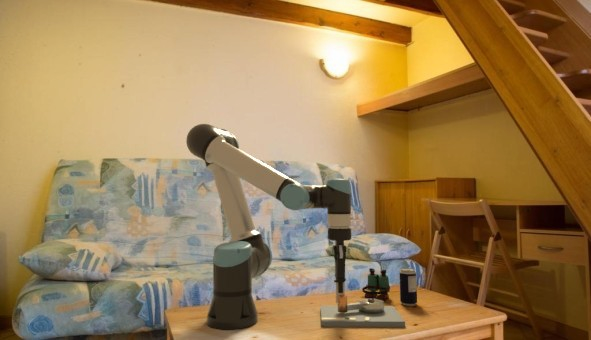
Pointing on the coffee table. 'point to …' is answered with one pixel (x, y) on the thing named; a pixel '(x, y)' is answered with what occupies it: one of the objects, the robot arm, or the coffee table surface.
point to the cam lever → (360, 305)
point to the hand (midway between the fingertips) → (340, 302)
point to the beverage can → (408, 287)
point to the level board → (361, 318)
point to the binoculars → (377, 285)
